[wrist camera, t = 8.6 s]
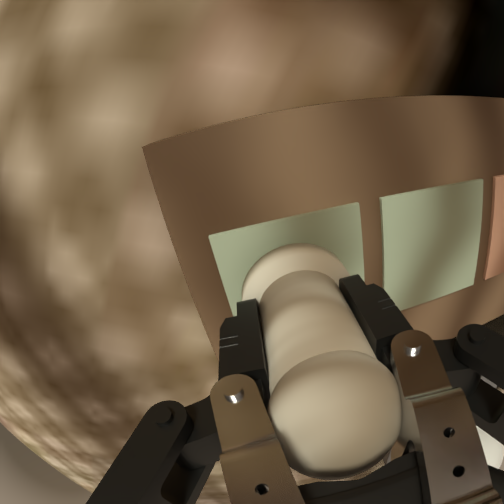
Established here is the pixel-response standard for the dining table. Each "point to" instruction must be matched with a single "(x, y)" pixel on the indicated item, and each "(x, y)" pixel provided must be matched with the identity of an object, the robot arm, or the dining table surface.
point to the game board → (346, 202)
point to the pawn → (320, 366)
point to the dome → (491, 449)
